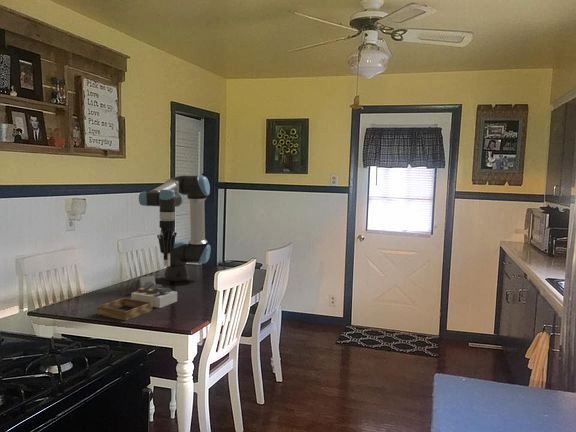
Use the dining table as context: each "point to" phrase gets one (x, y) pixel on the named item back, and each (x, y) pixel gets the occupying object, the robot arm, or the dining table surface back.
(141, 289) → the rocker
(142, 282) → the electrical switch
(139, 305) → the tray
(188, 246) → the robot arm
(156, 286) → the rocker
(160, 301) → the switch unit
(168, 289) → the rocker
